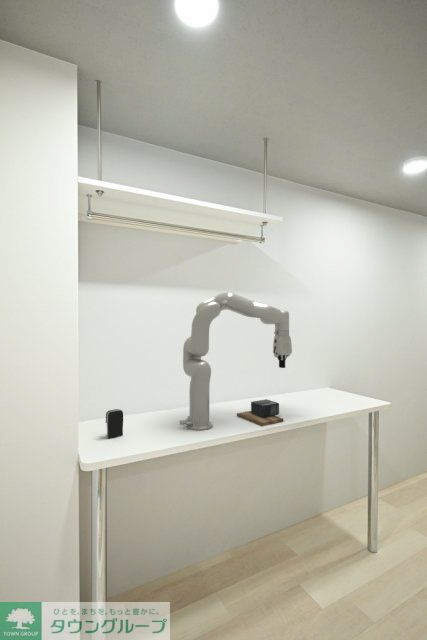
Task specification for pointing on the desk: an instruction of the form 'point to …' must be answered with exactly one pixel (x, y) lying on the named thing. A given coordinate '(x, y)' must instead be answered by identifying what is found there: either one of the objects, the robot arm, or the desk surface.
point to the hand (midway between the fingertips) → (282, 367)
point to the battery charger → (114, 423)
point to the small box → (265, 408)
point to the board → (259, 418)
